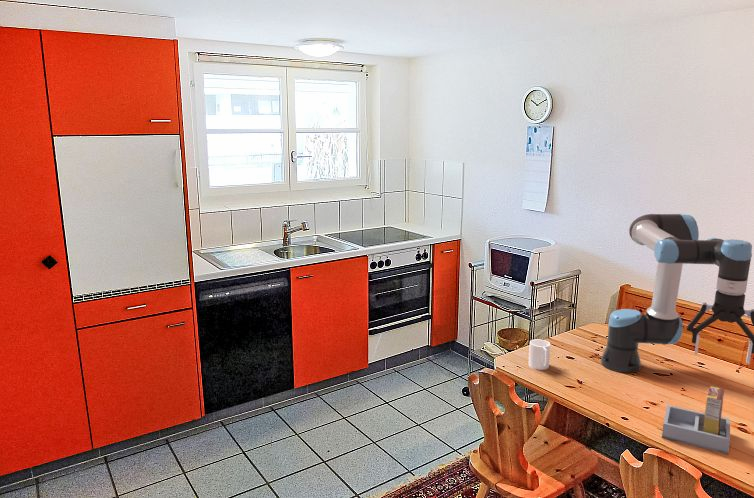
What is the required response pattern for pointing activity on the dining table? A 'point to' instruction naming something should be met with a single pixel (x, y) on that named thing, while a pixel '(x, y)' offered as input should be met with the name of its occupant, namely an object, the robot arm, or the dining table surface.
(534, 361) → the cup
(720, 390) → the candy box
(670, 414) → the bin
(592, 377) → the dining table surface
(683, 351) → the dining table surface
